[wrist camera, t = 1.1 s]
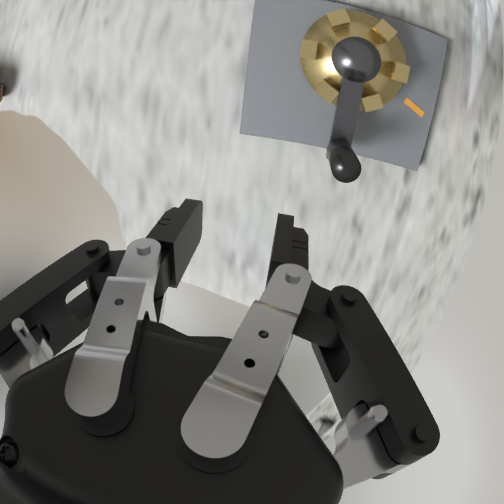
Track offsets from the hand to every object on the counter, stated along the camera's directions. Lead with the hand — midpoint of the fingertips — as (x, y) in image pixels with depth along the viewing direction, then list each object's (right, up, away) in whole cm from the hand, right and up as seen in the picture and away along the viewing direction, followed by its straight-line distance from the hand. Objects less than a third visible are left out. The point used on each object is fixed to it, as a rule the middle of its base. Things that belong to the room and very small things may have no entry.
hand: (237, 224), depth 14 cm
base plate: (+10, +17, +12) cm, 23 cm away
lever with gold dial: (+10, +15, +11) cm, 22 cm away
